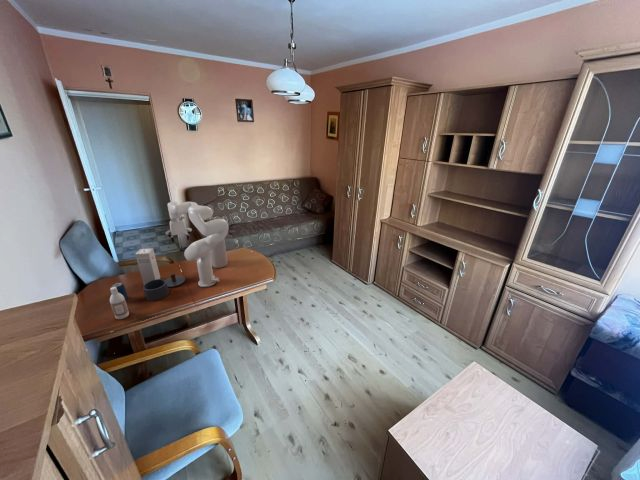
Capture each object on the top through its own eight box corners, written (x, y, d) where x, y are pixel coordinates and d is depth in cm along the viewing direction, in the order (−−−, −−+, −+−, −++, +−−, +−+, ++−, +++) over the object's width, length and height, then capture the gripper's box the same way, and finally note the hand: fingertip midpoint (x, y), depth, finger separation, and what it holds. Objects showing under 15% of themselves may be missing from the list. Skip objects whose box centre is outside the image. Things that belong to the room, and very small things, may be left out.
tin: (172, 289, 186) (170, 279, 183) (162, 301, 174) (159, 290, 171) (153, 289, 186) (150, 278, 183) (141, 300, 174) (138, 290, 170)
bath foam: (115, 321, 155) (105, 292, 147) (115, 314, 160) (106, 286, 153) (129, 317, 159) (120, 289, 151) (129, 310, 164) (120, 283, 156)
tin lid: (188, 277, 202) (187, 269, 199) (179, 288, 188) (177, 279, 186) (169, 277, 202) (167, 268, 199) (159, 287, 188) (156, 279, 185)
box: (160, 278, 200) (153, 248, 190) (156, 284, 192) (148, 253, 183) (148, 279, 198) (140, 249, 189) (143, 285, 191) (135, 254, 181)
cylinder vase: (209, 264, 222) (205, 236, 212) (223, 259, 229) (220, 233, 220) (215, 269, 213) (211, 241, 203) (230, 265, 221) (226, 237, 211)
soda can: (126, 295, 178) (121, 280, 174) (129, 299, 174) (124, 284, 170) (113, 300, 173) (108, 284, 169) (117, 304, 169) (112, 288, 165)
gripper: (189, 216, 195) (192, 237, 202) (162, 219, 187) (167, 241, 194) (190, 218, 189) (194, 240, 196) (162, 222, 181) (167, 245, 188)
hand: (180, 241), depth 195 cm, fingers open, 9 cm apart
